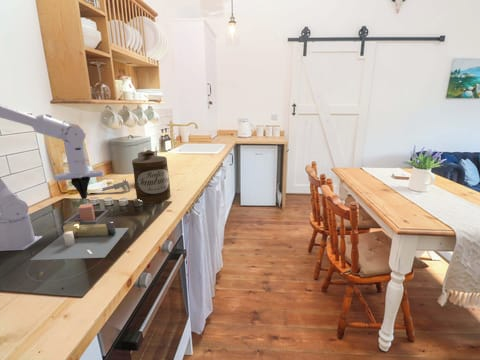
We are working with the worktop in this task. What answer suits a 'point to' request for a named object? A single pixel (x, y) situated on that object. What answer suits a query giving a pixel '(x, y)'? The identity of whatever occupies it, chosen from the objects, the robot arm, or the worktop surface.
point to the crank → (90, 229)
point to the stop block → (86, 212)
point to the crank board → (80, 246)
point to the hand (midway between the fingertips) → (84, 198)
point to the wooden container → (151, 178)
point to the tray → (98, 213)
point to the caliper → (117, 186)
